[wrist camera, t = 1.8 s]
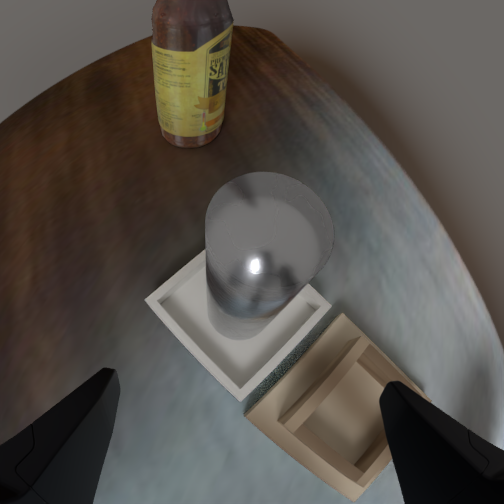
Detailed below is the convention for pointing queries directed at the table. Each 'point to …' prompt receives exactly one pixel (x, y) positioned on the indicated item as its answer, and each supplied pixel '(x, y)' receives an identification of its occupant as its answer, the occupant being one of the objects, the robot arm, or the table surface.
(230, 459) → the table surface
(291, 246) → the cylinder
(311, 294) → the tray
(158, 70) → the sauce bottle
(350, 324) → the wooden socket base
